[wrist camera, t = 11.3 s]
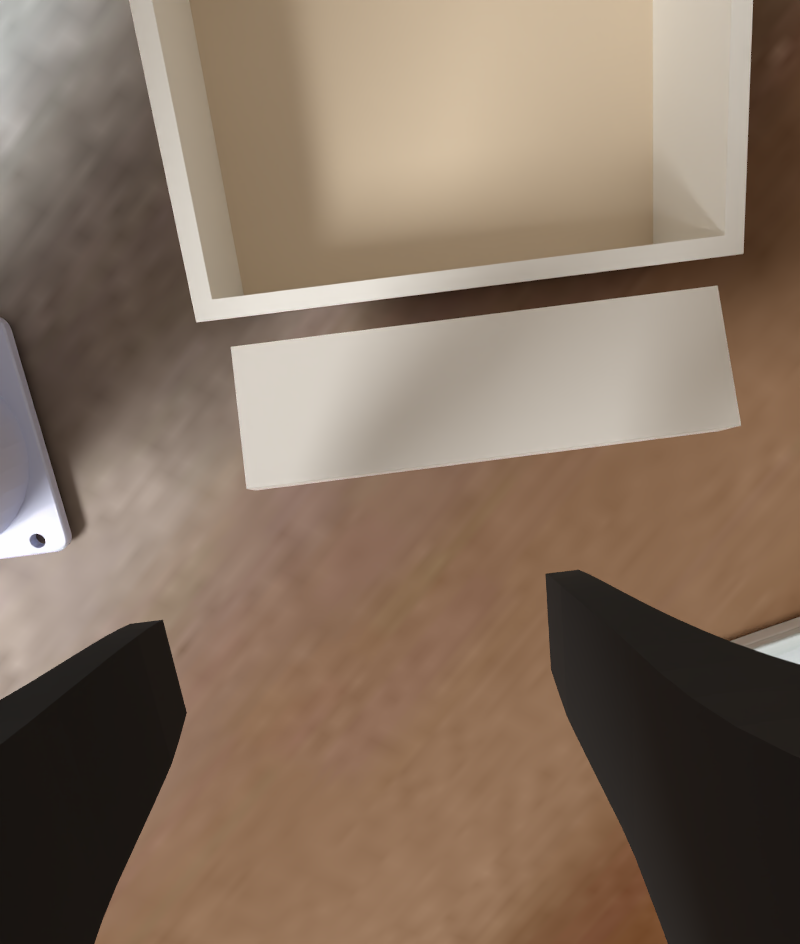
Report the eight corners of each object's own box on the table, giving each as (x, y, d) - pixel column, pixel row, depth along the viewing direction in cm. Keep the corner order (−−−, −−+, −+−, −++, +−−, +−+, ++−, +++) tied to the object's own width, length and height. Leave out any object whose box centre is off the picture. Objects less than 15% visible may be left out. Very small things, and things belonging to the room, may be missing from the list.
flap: (230, 346, 15) (241, 357, 16) (246, 488, 15) (256, 490, 16) (717, 285, 15) (696, 300, 16) (741, 425, 15) (718, 431, 16)
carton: (235, 317, 19) (196, 322, 15) (148, -139, 16) (65, -303, 12) (661, 264, 20) (743, 253, 15) (661, -200, 16) (767, -383, 12)
